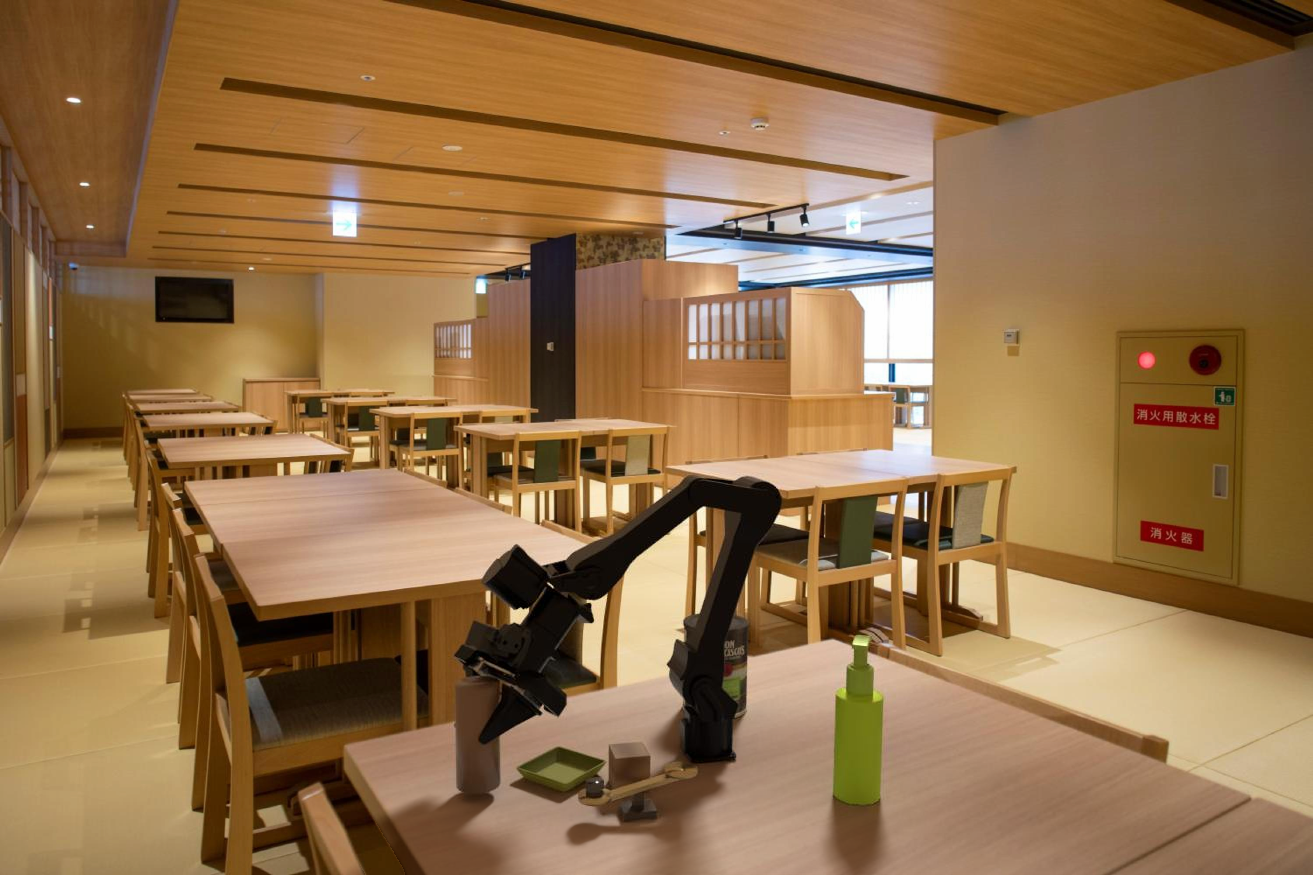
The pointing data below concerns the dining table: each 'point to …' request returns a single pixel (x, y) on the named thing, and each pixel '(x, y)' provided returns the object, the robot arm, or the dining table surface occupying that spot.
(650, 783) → the balance
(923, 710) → the dining table surface
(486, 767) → the brown cylinder
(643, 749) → the block
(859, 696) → the soap dispenser
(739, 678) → the coffee can
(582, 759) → the green square dish
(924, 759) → the dining table surface
